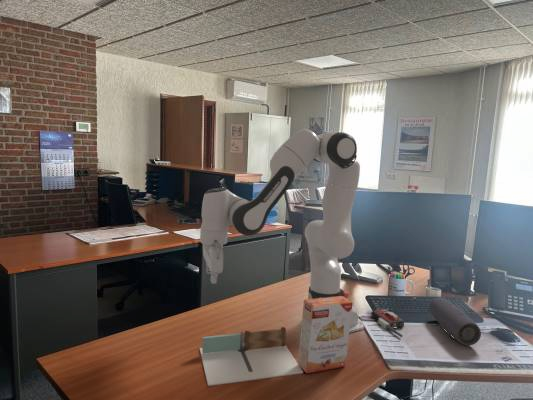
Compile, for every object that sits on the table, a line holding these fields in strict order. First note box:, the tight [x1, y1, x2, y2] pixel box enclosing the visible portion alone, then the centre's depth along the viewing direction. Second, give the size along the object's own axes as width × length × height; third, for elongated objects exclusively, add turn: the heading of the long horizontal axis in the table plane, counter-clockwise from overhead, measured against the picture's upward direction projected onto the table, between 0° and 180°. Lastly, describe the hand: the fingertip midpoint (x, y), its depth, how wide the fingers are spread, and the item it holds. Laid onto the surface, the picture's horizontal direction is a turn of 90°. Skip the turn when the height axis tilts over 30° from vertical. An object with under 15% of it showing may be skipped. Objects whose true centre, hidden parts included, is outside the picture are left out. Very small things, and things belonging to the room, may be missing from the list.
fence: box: [243, 326, 287, 351], centre depth 127 cm, size 14×2×6 cm, turn 106°
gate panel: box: [201, 331, 245, 353], centre depth 123 cm, size 13×1×6 cm, turn 106°
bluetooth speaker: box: [428, 296, 482, 346], centre depth 143 cm, size 23×9×10 cm, turn 0°
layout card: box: [199, 342, 304, 387], centre depth 119 cm, size 28×20×1 cm
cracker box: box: [297, 296, 353, 374], centre depth 116 cm, size 14×6×21 cm, turn 114°
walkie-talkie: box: [370, 308, 405, 338], centre depth 147 cm, size 9×4×20 cm
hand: (211, 277), depth 128 cm, fingers open, 8 cm apart
